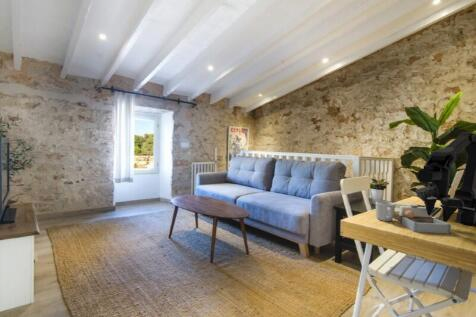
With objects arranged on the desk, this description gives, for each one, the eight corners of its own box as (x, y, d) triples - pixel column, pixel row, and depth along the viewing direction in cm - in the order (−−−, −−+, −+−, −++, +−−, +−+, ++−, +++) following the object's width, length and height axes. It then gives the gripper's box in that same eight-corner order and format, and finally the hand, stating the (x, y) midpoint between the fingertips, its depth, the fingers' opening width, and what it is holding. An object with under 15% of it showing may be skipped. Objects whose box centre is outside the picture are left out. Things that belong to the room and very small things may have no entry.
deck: (419, 217, 125) (419, 211, 124) (438, 226, 112) (439, 220, 111) (389, 216, 125) (389, 210, 125) (405, 224, 112) (405, 218, 112)
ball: (410, 217, 115) (411, 209, 115) (415, 219, 112) (416, 211, 112) (402, 216, 116) (403, 209, 115) (407, 219, 112) (408, 211, 112)
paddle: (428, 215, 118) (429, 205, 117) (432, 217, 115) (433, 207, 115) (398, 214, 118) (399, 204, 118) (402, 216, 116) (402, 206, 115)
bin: (435, 226, 112) (435, 218, 111) (450, 233, 103) (451, 224, 103) (401, 224, 112) (402, 216, 112) (413, 231, 104) (414, 223, 104)
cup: (399, 225, 112) (401, 207, 111) (379, 223, 113) (381, 205, 113) (390, 218, 122) (391, 201, 121) (372, 216, 124) (373, 200, 123)
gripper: (406, 177, 117) (404, 211, 119) (436, 184, 99) (432, 224, 100) (432, 178, 117) (429, 212, 118) (466, 185, 98) (462, 226, 99)
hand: (436, 218), depth 109 cm, fingers open, 9 cm apart
